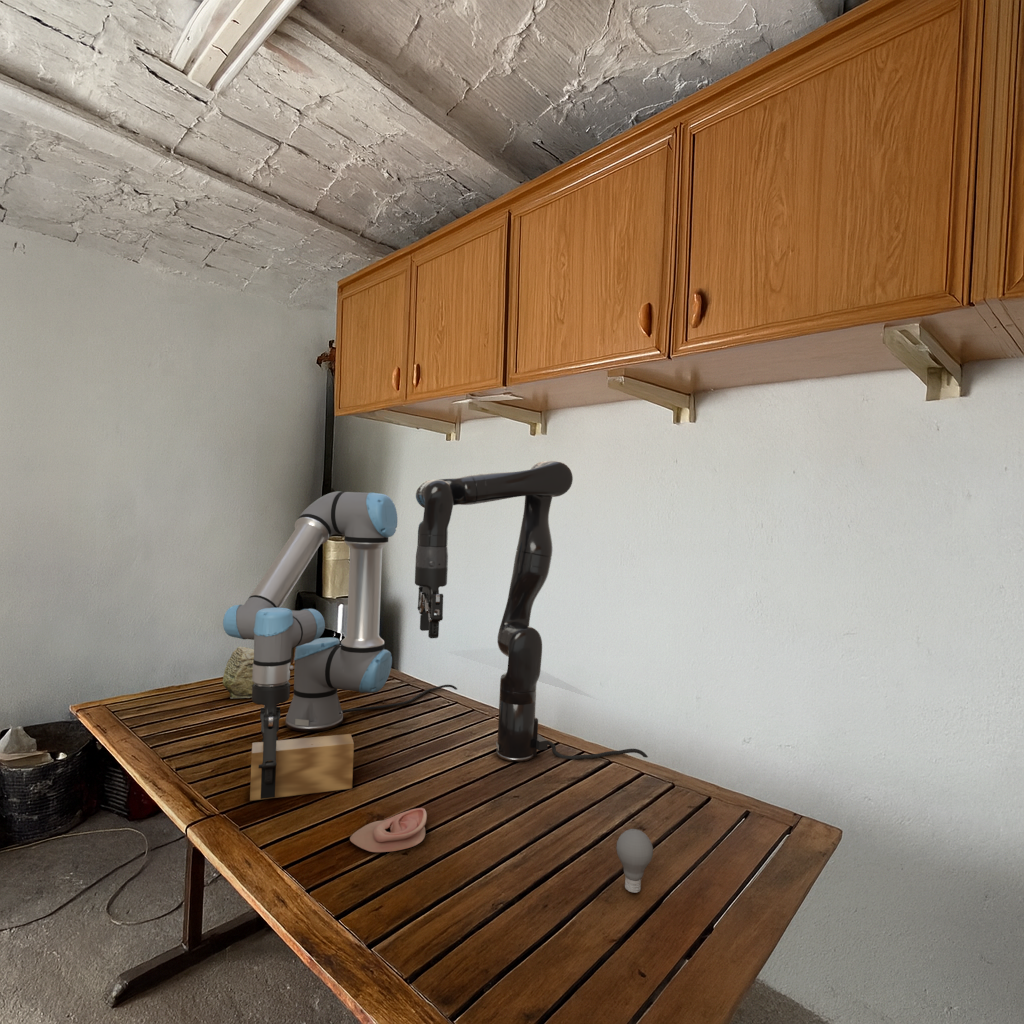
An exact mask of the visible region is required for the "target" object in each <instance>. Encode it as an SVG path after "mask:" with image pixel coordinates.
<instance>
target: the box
mask: <svg viewBox="0 0 1024 1024" xmlns="http://www.w3.org/2000/svg"><path fill="white" fill-rule="evenodd" d="M354 749H355V742H354V740H353V737H352V734H351V733H343V734H334V735H321V736H313V737H302V738H301V737H300V738H291V739H280V740H279V739H278V741H276V763H277V765H276V778H275V797H272V798H264V799H261V773H262V768H259V765H261V764H262V763H263V742H262V741H258V742H257V741H255V742H252V743H251V756H250V757H251V762H250V785H249V786H250V789H249V801H250V802H252V801H261V800H269V799H277V798H286V797H293V796H303V795H309V794H319V793H326V792H335V791H344V790H351V789H353V781H354V780H353V778H354V776H353V775H354V752H355V750H354Z"/></svg>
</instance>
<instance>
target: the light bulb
mask: <svg viewBox="0 0 1024 1024" xmlns="http://www.w3.org/2000/svg"><path fill="white" fill-rule="evenodd" d="M615 849H616V854H617V857H618V859H619V861H620V863H621V865H622V867H623V873H624V874H623V875H624V876H625V878H624V888H625V890H627V891H628V892H630V893H634V894H635V893H639V892H640V891H641V889H642V887H641V886H642V879H643V877H644V875H645V871H646V868H647V867H648V866H649V864H650V863H651V861H652V859H653V855H654V847H653V843H652V841H651V838H649V836H648V835H647V834H646V833H645V832H643V831H642V830H641V829H636V828H629V829H627V830H625V831H623V832H622V833H621V834H620V835H619V837H618V839H617V841H616V847H615Z"/></svg>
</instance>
